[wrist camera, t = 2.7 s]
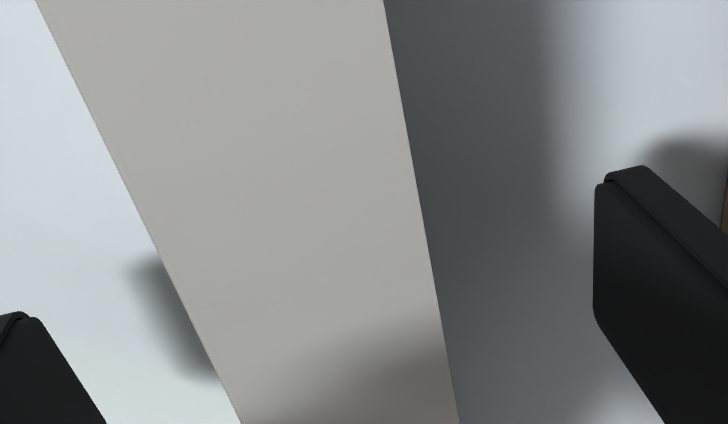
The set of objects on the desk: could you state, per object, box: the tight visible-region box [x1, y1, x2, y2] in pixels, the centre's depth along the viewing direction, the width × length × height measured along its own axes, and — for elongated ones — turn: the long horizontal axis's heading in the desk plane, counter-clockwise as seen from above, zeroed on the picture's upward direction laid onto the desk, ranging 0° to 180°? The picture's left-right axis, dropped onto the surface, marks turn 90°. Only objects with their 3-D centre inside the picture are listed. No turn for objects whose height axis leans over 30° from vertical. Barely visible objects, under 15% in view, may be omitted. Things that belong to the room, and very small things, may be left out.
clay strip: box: [35, 0, 460, 424], centre depth 10 cm, size 20×3×4 cm, turn 12°
